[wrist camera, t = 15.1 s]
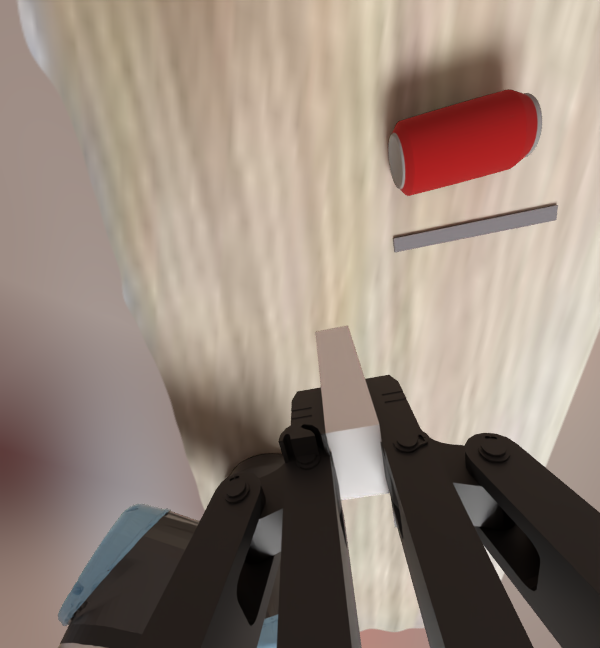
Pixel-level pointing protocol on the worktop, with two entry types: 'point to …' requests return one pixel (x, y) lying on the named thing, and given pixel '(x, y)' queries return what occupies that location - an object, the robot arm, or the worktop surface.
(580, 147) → the worktop surface
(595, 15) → the worktop surface
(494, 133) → the beverage can
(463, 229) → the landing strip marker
